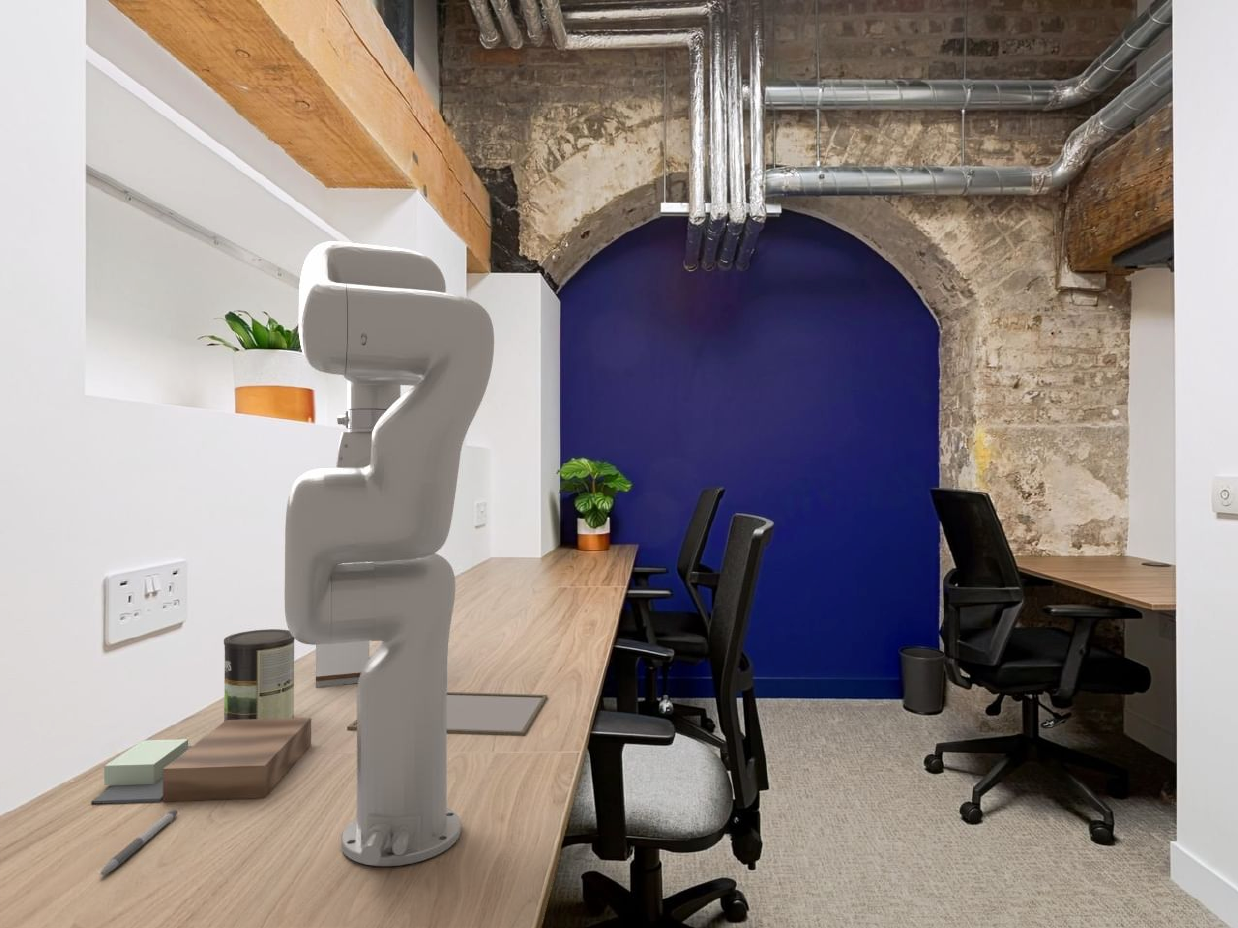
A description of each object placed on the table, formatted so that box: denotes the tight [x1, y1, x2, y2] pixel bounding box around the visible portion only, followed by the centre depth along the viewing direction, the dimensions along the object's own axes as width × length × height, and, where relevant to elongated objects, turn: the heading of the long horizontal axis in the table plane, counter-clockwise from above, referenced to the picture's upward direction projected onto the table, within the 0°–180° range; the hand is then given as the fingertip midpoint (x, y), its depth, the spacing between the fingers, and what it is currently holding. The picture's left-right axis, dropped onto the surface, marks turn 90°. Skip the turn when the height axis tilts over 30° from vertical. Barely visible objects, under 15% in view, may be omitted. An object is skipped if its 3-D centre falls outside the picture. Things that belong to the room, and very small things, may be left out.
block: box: [103, 738, 189, 786], centre depth 101 cm, size 9×6×2 cm, turn 5°
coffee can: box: [223, 628, 296, 722], centre depth 120 cm, size 10×10×14 cm
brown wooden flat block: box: [162, 717, 312, 803], centre depth 102 cm, size 18×12×4 cm, turn 5°
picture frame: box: [346, 691, 548, 737], centre depth 126 cm, size 19×1×28 cm
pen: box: [100, 809, 178, 876], centre depth 82 cm, size 1×14×1 cm, turn 3°
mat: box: [90, 745, 193, 805], centre depth 101 cm, size 18×8×1 cm, turn 5°
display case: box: [315, 641, 371, 688], centre depth 148 cm, size 11×11×35 cm
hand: (374, 546), depth 112 cm, fingers closed
